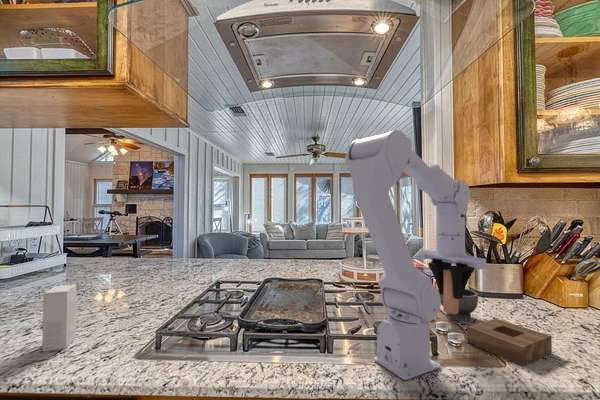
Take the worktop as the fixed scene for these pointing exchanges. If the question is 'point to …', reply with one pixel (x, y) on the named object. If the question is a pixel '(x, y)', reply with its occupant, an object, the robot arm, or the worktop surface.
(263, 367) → the worktop surface
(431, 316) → the robot arm
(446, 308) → the peg
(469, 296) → the mortar and pestle
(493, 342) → the walnut stand
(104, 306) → the worktop surface
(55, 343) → the skincare box
